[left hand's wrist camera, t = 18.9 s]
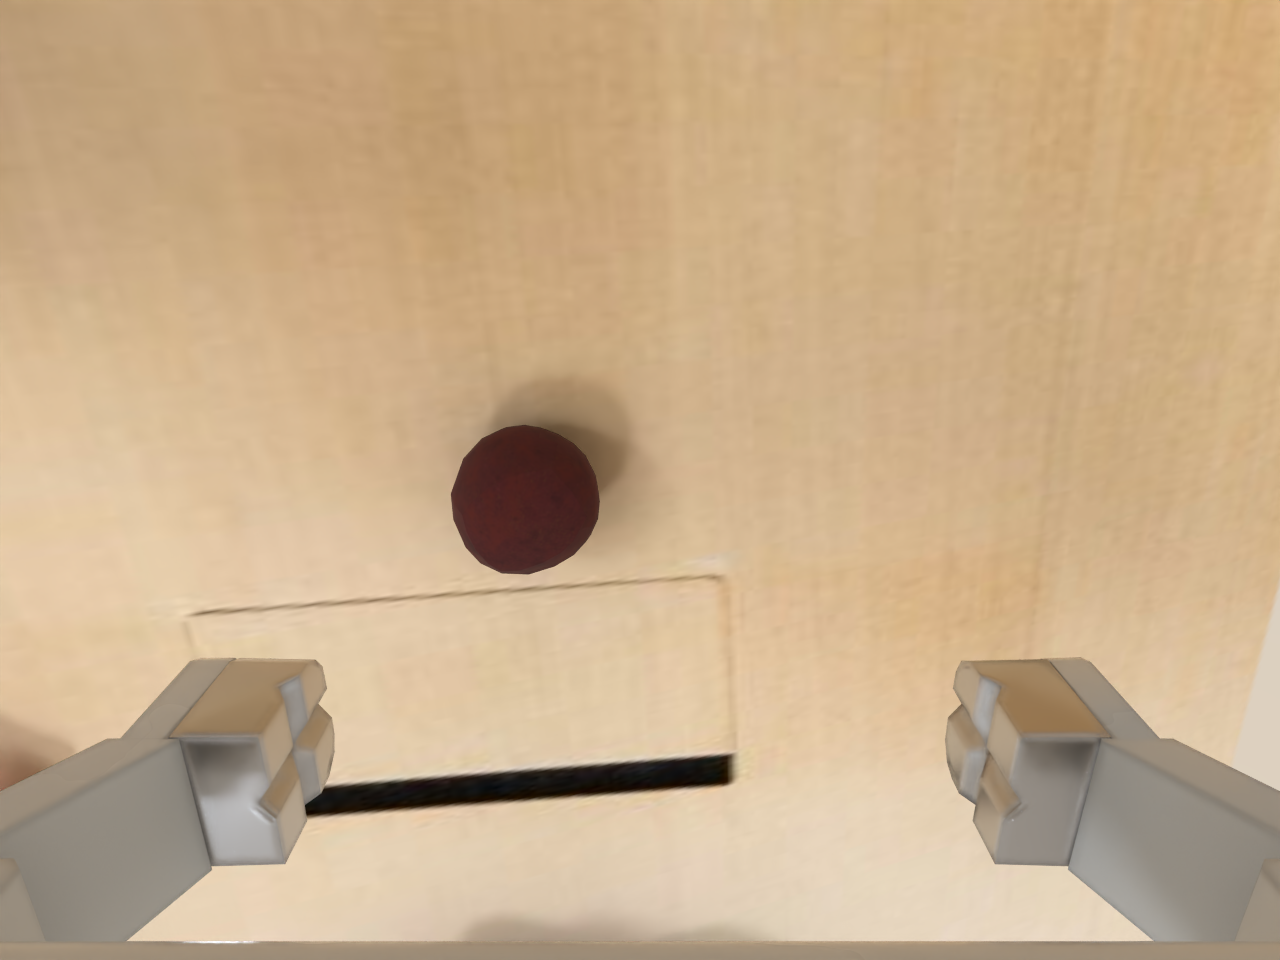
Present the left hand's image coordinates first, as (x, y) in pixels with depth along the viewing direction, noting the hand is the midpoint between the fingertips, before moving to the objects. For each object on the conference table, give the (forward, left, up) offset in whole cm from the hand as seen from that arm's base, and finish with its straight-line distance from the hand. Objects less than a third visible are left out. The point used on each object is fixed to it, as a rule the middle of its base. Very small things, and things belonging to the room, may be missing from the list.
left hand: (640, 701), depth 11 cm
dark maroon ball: (+5, -10, -33) cm, 35 cm away
